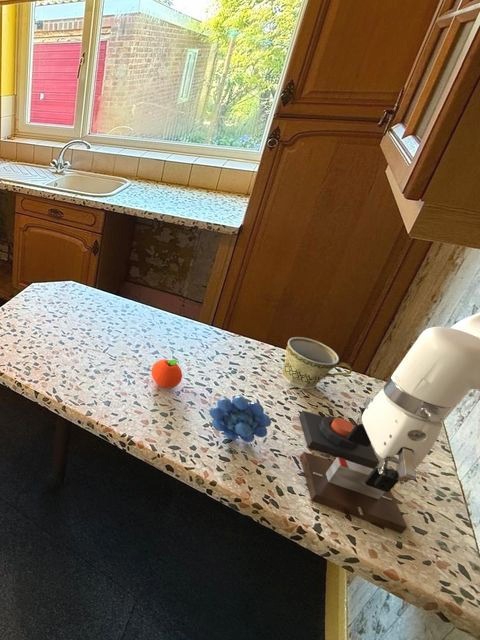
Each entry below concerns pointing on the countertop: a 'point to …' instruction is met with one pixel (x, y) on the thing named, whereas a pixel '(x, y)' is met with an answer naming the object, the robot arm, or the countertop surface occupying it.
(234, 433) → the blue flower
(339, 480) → the grey block
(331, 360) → the ceramic cup
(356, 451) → the button box
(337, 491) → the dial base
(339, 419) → the button
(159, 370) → the clementine
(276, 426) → the countertop surface
